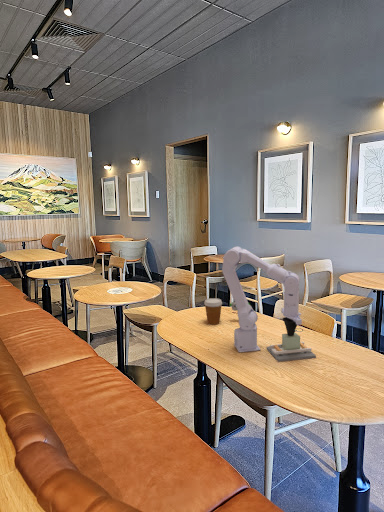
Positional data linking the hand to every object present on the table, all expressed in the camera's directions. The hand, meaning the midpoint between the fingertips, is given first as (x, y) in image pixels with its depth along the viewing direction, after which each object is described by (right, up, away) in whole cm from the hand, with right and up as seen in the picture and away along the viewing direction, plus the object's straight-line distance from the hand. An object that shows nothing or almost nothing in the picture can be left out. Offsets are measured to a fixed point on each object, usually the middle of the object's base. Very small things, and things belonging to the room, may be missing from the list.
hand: (290, 335), depth 137 cm
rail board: (0, -8, +1) cm, 8 cm away
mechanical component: (-15, -2, +40) cm, 43 cm away
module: (0, -6, +1) cm, 6 cm away
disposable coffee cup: (-29, -3, +39) cm, 49 cm away
